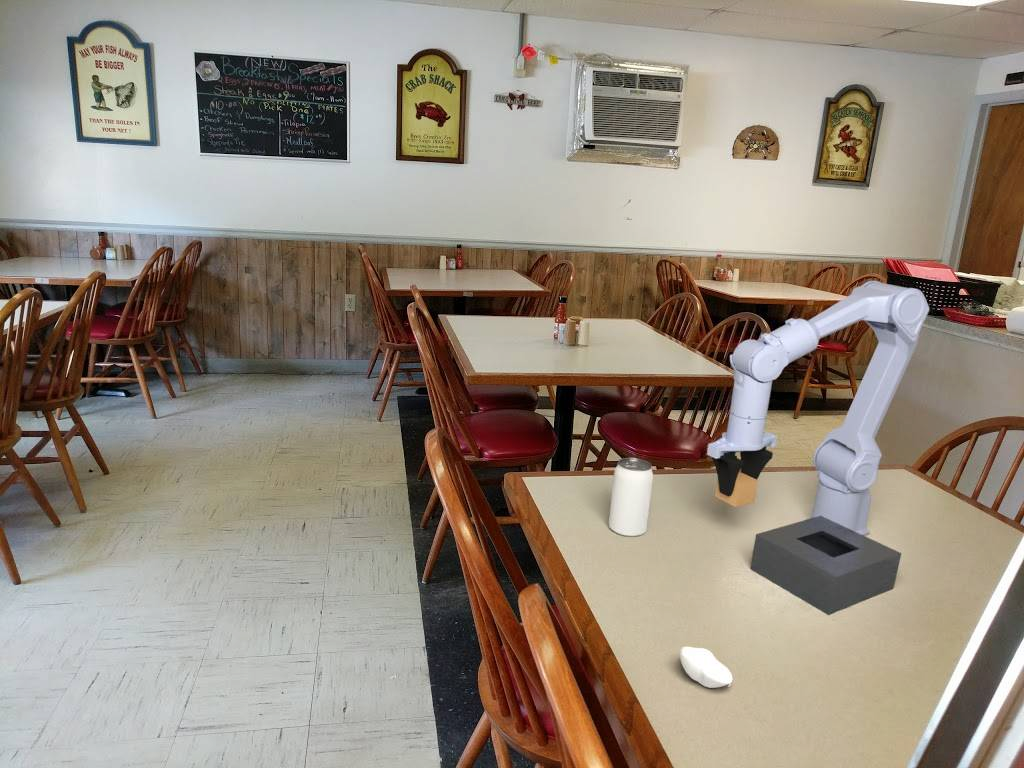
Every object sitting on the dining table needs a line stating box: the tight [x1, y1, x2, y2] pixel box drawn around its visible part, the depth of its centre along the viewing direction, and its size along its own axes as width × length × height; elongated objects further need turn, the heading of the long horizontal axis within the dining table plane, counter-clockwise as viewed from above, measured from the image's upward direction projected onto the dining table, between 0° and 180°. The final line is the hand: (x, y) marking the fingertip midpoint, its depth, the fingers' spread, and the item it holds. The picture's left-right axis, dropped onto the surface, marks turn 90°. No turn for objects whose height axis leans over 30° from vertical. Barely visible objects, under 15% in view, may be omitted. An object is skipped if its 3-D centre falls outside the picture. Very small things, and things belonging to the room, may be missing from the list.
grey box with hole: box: [750, 516, 903, 616], centre depth 111 cm, size 16×14×6 cm
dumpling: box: [679, 645, 733, 689], centre depth 86 cm, size 7×5×4 cm
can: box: [608, 457, 654, 538], centre depth 123 cm, size 6×6×12 cm
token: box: [714, 471, 759, 508], centre depth 121 cm, size 4×4×4 cm
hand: (735, 491), depth 121 cm, fingers closed on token, 4 cm apart
